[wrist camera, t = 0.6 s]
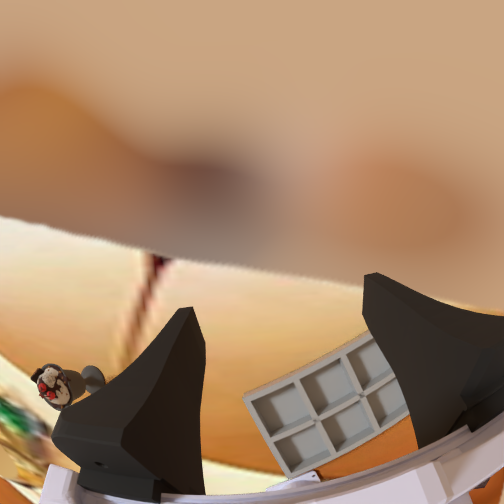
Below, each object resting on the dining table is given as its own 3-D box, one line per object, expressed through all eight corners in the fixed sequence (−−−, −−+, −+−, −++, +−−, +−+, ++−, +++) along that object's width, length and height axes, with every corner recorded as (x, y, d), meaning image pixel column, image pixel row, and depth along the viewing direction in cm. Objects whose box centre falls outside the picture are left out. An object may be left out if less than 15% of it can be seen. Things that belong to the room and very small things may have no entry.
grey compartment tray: (411, 402, 33) (420, 406, 30) (286, 470, 32) (288, 479, 29) (377, 324, 37) (385, 323, 34) (244, 393, 36) (242, 398, 33)
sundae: (116, 392, 36) (56, 411, 22) (88, 403, 35) (28, 421, 21) (98, 354, 38) (34, 357, 23) (72, 368, 37) (9, 372, 23)
